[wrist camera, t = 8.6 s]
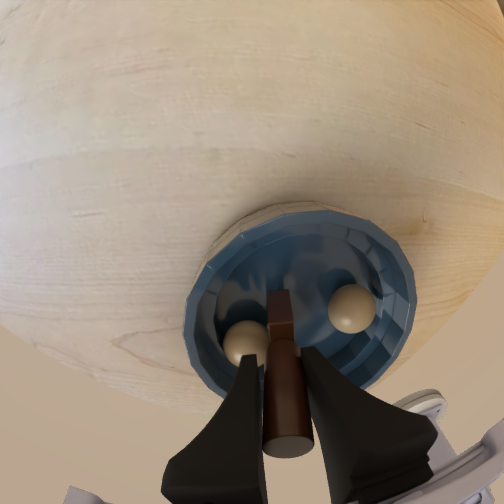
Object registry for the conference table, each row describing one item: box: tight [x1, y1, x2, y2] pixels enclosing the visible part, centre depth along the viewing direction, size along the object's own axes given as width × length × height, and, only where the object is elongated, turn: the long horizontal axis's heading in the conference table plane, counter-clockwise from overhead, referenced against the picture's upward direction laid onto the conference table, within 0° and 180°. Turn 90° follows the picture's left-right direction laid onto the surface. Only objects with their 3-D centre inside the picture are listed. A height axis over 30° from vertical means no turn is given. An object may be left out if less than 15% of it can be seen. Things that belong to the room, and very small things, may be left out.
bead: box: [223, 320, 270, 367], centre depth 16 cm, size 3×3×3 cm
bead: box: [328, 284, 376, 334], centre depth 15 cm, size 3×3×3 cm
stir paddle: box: [262, 289, 314, 458], centre depth 12 cm, size 4×2×9 cm, turn 7°
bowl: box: [182, 201, 417, 414], centre depth 15 cm, size 13×13×4 cm
